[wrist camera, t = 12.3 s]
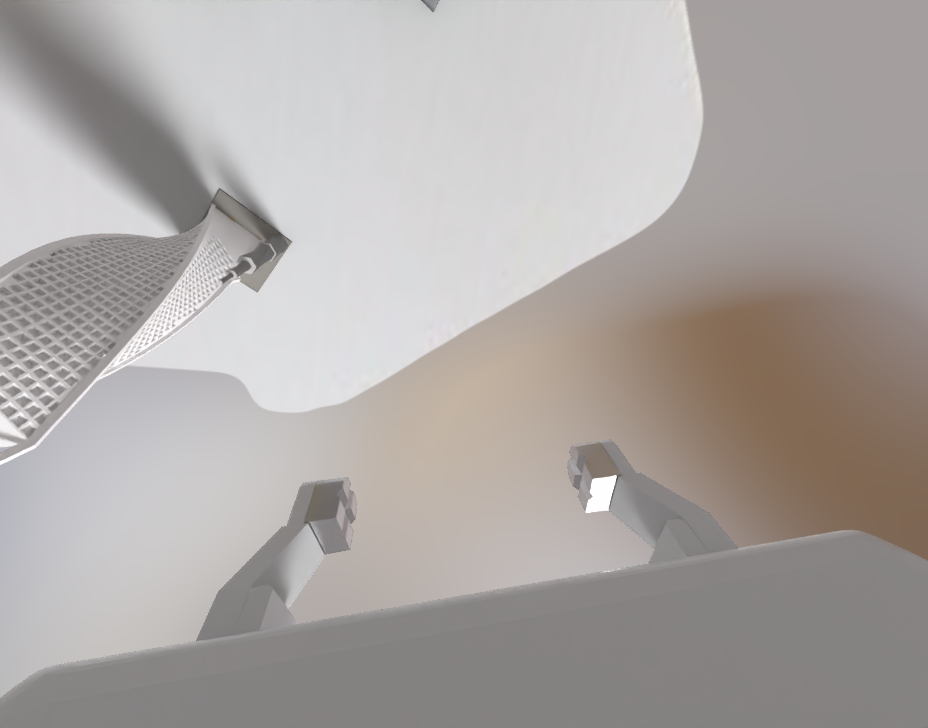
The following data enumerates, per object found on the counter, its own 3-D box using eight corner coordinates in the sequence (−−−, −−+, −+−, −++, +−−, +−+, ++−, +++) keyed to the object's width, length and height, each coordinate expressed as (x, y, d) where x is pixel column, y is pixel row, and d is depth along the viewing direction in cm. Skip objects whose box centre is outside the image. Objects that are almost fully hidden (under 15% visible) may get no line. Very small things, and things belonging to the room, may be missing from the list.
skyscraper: (252, 300, 37) (-28, 558, 14) (170, 250, 33) (-404, 480, 10) (292, 241, 34) (32, 432, 11) (209, 179, 31) (-449, 265, 7)
